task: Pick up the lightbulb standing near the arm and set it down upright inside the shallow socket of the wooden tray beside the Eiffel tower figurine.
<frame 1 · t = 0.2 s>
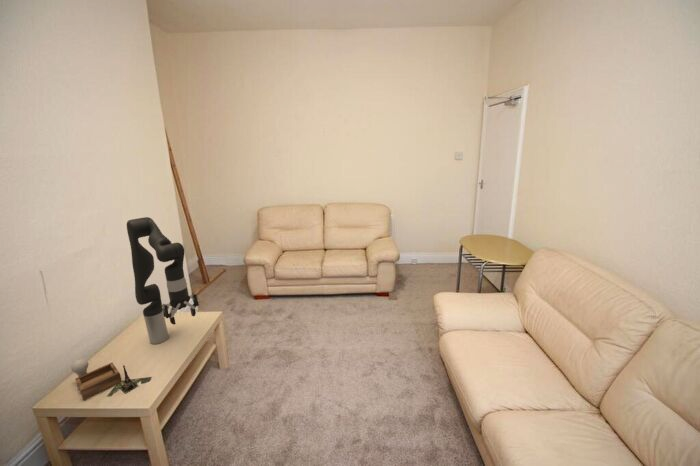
hand: (183, 319, 140), 29 cm above the table, fingers open, 8 cm apart
wooden tray: (100, 384, 143), on the table
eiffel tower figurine: (130, 387, 141), on the table
lightbulb: (84, 380, 146), on the table
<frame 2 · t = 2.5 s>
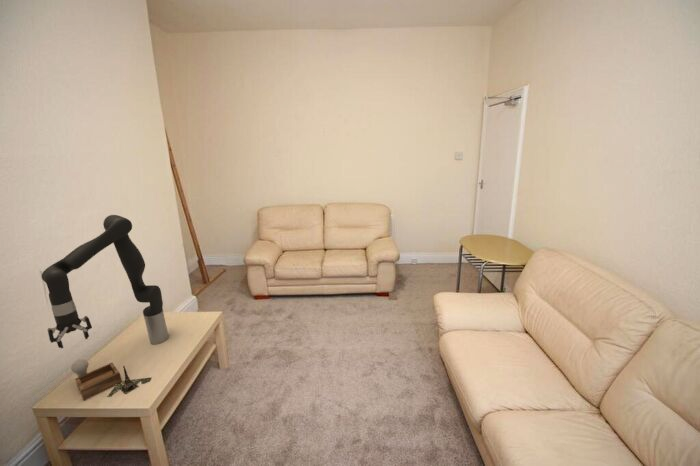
hand: (74, 343, 140), 21 cm above the table, fingers open, 8 cm apart
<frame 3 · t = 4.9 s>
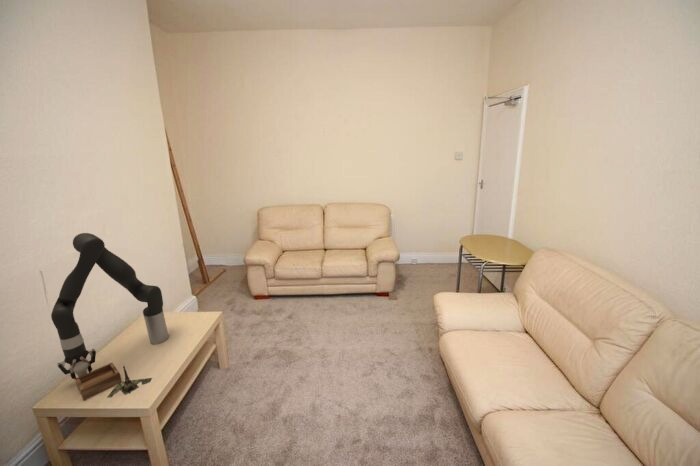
hand: (82, 375, 145), 3 cm above the table, fingers closed on lightbulb, 4 cm apart
lightbulb: (84, 380, 146), on the table, touching gripper
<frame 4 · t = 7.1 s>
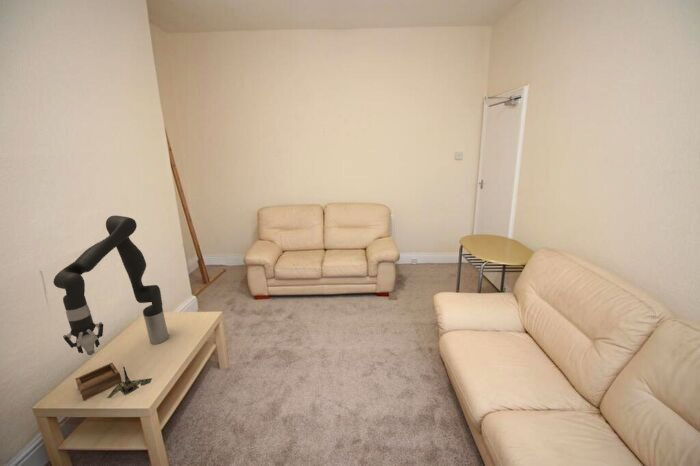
hand: (89, 349, 138), 19 cm above the table, fingers closed on lightbulb, 4 cm apart
lightbulb: (91, 355, 139), point 16 cm above the table, touching gripper
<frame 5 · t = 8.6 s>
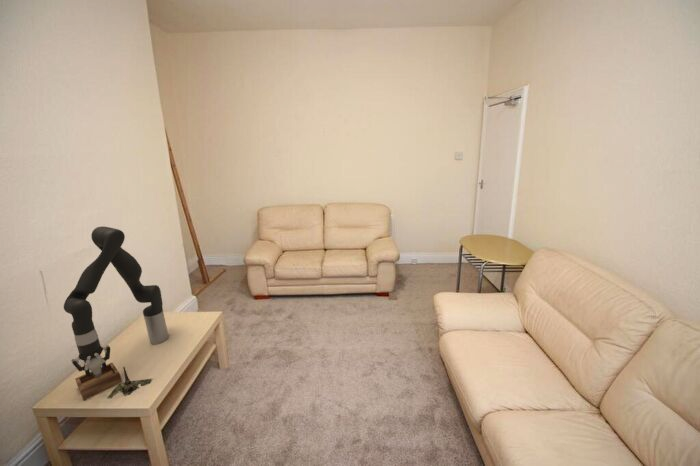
hand: (96, 372, 141), 7 cm above the table, fingers closed on lightbulb, 4 cm apart
lightbulb: (98, 377, 142), point 4 cm above the table, touching gripper
when the fingers open (5 cm above the table, at t = 9.4 s): lightbulb stays where it is, resting on wooden tray.
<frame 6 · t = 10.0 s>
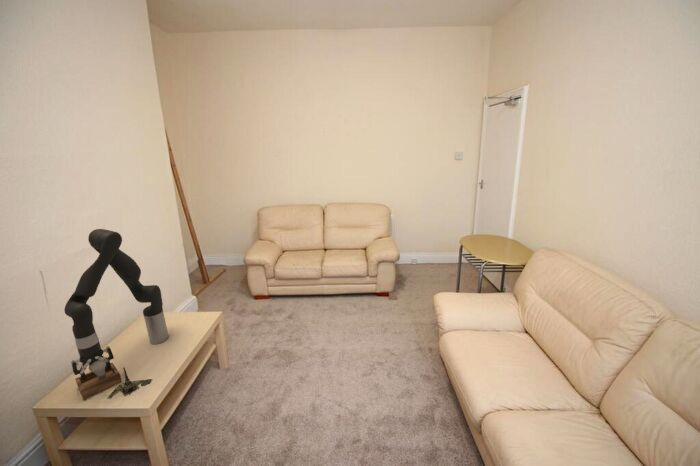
hand: (97, 373, 141), 6 cm above the table, fingers open, 8 cm apart
lightbulb: (103, 379, 143), point 2 cm above the table, touching gripper, wooden tray
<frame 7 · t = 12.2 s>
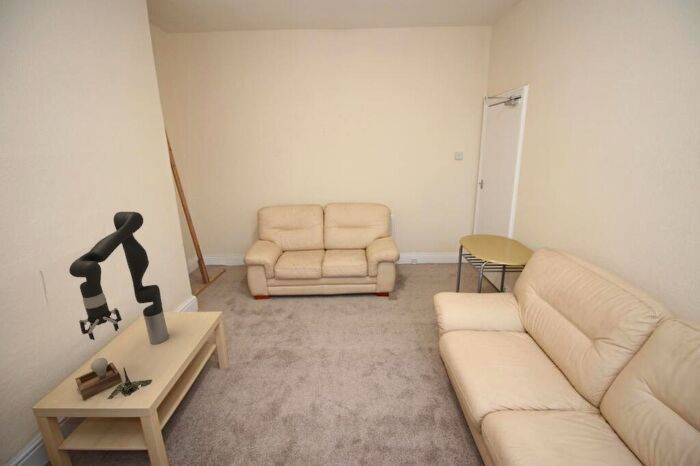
hand: (105, 334, 141), 23 cm above the table, fingers open, 8 cm apart
lightbulb: (103, 379, 143), point 2 cm above the table, touching wooden tray
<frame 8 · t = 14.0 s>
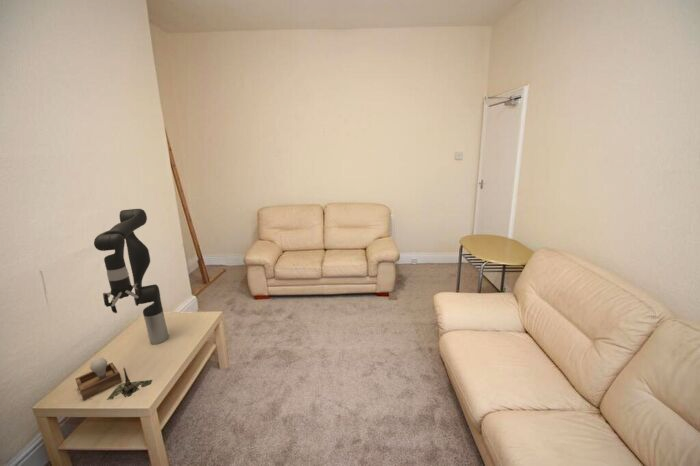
hand: (126, 308, 144), 33 cm above the table, fingers open, 8 cm apart
at the end: lightbulb inside the target area on the wooden tray (1.6 cm from its centre), point 1.8 cm above the wooden tray's base; lightbulb touching wooden tray; the gripper is holding nothing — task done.
